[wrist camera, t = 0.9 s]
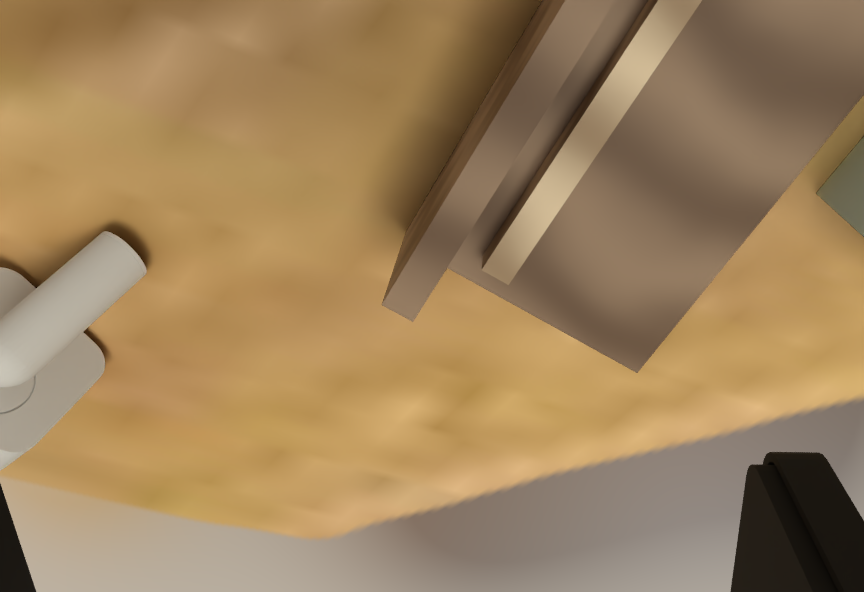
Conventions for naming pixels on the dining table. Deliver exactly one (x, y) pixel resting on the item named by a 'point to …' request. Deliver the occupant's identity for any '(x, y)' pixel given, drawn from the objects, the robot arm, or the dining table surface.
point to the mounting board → (632, 158)
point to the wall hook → (55, 338)
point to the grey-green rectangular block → (847, 188)
